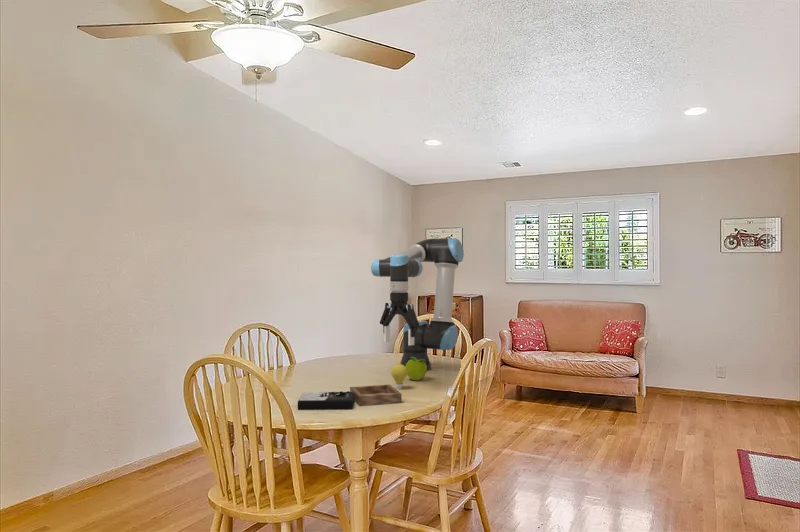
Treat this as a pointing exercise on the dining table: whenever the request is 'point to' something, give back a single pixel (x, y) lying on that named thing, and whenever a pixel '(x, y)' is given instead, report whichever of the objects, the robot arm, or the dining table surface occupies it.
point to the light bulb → (399, 375)
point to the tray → (376, 395)
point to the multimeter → (326, 401)
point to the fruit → (416, 368)
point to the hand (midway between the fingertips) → (399, 343)
